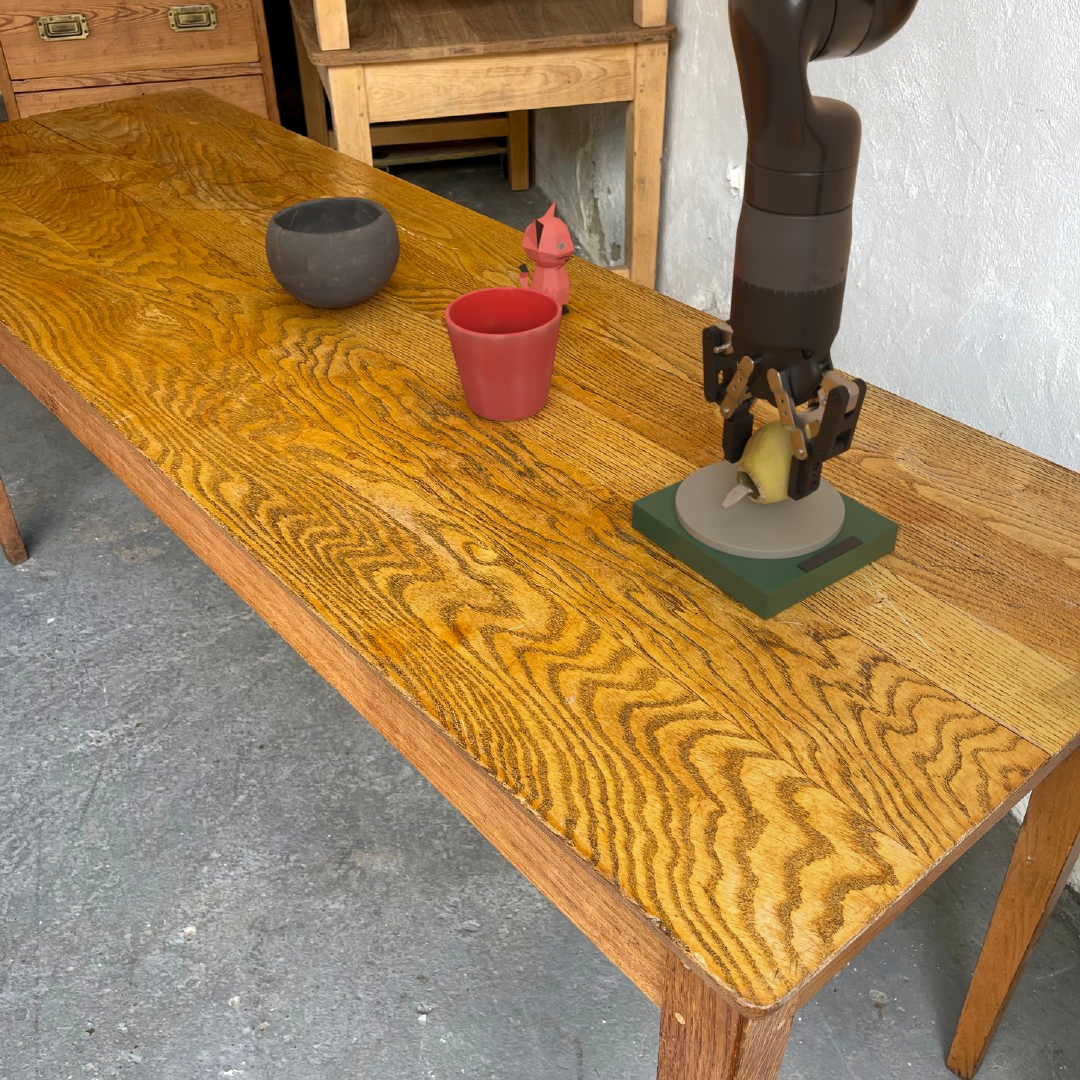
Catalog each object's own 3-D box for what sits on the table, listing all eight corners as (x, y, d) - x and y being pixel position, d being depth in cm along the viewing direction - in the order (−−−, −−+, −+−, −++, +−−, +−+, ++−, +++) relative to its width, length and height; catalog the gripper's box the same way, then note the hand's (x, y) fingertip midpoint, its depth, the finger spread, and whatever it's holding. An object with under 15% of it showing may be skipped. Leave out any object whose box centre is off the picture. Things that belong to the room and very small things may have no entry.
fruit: (691, 503, 84) (770, 439, 89) (753, 550, 82) (830, 481, 87) (706, 453, 80) (788, 388, 84) (772, 501, 77) (853, 432, 82)
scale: (894, 550, 86) (901, 516, 84) (765, 620, 79) (769, 585, 77) (756, 469, 96) (759, 437, 94) (631, 526, 89) (632, 493, 87)
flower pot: (585, 409, 105) (584, 314, 100) (484, 441, 101) (478, 344, 95) (529, 367, 113) (525, 276, 107) (432, 396, 108) (424, 303, 103)
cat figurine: (565, 332, 119) (564, 223, 112) (507, 323, 122) (502, 216, 115) (587, 306, 125) (587, 201, 118) (531, 299, 127) (528, 195, 120)
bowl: (316, 337, 120) (302, 248, 114) (253, 297, 130) (237, 213, 124) (429, 300, 127) (422, 215, 122) (362, 264, 137) (352, 184, 131)
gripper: (913, 283, 71) (875, 501, 81) (754, 224, 81) (737, 425, 91) (833, 314, 68) (803, 537, 77) (676, 248, 77) (667, 454, 87)
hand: (767, 475), depth 84 cm, fingers closed on fruit, 6 cm apart
